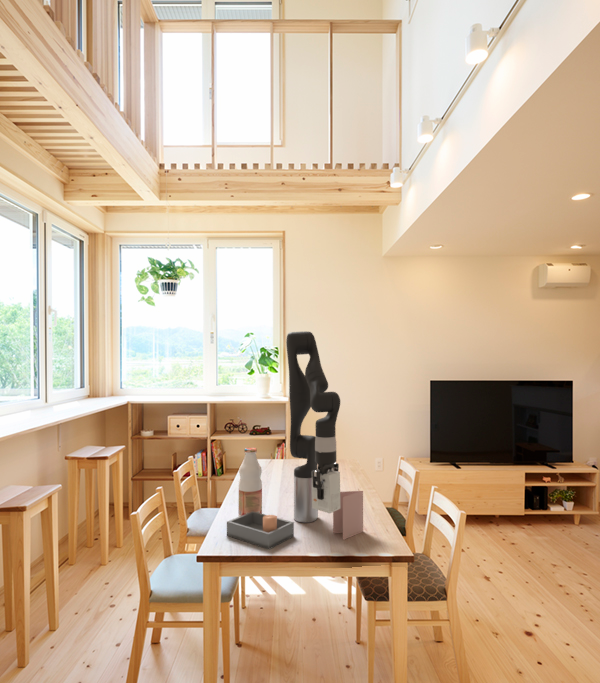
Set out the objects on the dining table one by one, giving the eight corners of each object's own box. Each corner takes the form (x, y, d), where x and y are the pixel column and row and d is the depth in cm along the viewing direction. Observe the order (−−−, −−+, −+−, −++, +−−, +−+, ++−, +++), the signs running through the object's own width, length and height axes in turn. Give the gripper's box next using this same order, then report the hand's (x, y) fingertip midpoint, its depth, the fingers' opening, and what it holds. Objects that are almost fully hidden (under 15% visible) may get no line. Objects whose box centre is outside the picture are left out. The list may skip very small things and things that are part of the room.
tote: (252, 524, 175) (252, 511, 176) (293, 536, 164) (293, 522, 164) (226, 535, 164) (226, 521, 164) (268, 549, 152) (268, 534, 153)
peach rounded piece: (267, 534, 163) (267, 514, 164) (279, 536, 161) (279, 516, 161) (259, 538, 159) (260, 517, 159) (272, 540, 156) (272, 520, 157)
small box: (340, 508, 158) (340, 471, 158) (329, 514, 153) (329, 475, 153) (322, 503, 163) (322, 467, 164) (311, 508, 159) (311, 471, 159)
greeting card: (362, 530, 169) (362, 490, 170) (368, 538, 162) (368, 496, 162) (332, 532, 168) (332, 491, 168) (337, 540, 160) (337, 497, 161)
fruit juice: (233, 519, 180) (233, 449, 181) (248, 513, 188) (249, 445, 189) (251, 524, 175) (252, 451, 176) (266, 517, 183) (266, 447, 184)
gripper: (327, 444, 167) (327, 489, 166) (305, 451, 155) (305, 500, 155) (345, 446, 162) (345, 493, 162) (323, 454, 151) (324, 504, 150)
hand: (326, 496), depth 158 cm, fingers closed on small box, 6 cm apart
